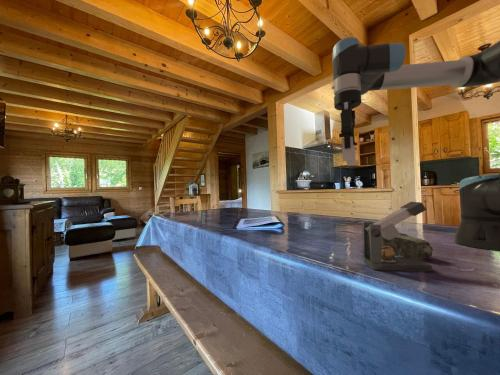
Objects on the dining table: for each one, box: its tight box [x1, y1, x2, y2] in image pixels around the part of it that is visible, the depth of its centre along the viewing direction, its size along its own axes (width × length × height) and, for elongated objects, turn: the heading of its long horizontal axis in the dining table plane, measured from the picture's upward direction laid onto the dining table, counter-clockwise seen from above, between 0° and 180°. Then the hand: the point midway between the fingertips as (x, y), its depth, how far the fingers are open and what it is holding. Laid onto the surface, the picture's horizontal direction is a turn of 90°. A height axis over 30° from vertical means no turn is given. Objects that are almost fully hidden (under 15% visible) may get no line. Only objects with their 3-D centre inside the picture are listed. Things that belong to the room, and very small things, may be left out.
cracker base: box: [362, 221, 433, 273], centre depth 56 cm, size 13×6×11 cm, turn 81°
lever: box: [365, 201, 427, 240], centre depth 56 cm, size 14×5×4 cm, turn 81°
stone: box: [381, 232, 433, 261], centre depth 66 cm, size 14×7×10 cm, turn 33°
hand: (349, 163), depth 66 cm, fingers open, 13 cm apart
